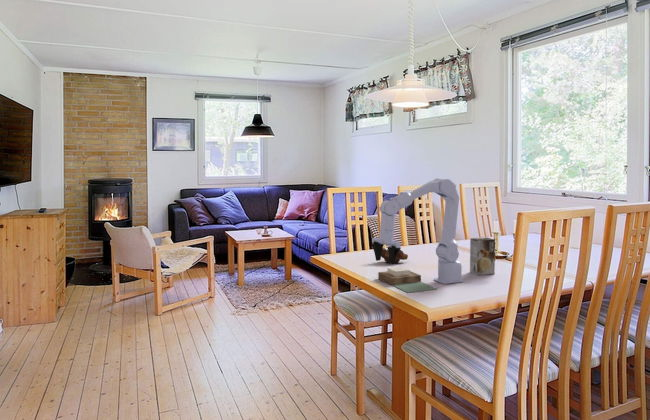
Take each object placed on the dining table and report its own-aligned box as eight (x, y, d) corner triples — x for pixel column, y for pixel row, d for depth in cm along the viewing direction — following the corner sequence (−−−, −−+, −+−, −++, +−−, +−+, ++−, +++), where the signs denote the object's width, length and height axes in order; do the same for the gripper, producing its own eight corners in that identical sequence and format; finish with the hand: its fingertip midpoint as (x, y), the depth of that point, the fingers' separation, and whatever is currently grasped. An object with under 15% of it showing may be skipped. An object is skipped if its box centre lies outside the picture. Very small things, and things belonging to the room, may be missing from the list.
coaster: (401, 271, 206) (401, 266, 206) (409, 274, 200) (410, 270, 200) (387, 272, 204) (387, 268, 204) (395, 276, 197) (395, 271, 197)
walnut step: (405, 276, 210) (405, 269, 209) (420, 282, 199) (420, 275, 198) (378, 279, 205) (378, 272, 204) (392, 285, 193) (392, 278, 193)
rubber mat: (420, 282, 199) (420, 281, 199) (437, 289, 188) (437, 288, 188) (392, 285, 193) (392, 284, 193) (407, 292, 182) (407, 292, 182)
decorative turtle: (375, 261, 241) (376, 246, 241) (403, 262, 244) (404, 247, 243) (380, 264, 232) (381, 248, 231) (409, 265, 234) (410, 249, 234)
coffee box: (486, 271, 218) (487, 237, 217) (494, 274, 212) (495, 239, 211) (469, 272, 216) (470, 238, 215) (476, 275, 210) (477, 240, 209)
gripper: (367, 227, 195) (365, 259, 196) (393, 232, 184) (390, 266, 185) (379, 227, 199) (377, 258, 201) (405, 231, 188) (402, 264, 189)
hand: (384, 262), depth 193 cm, fingers open, 7 cm apart
